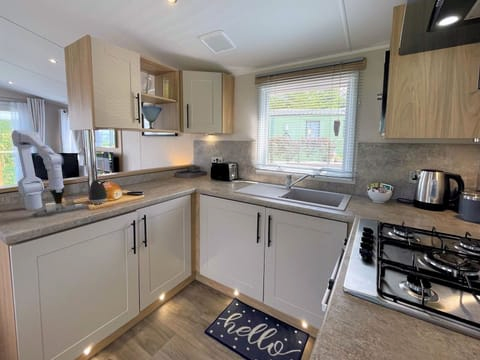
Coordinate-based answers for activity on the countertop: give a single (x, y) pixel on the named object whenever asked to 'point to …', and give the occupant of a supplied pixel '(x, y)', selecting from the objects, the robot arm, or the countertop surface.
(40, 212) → the grey recessed block
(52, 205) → the plug
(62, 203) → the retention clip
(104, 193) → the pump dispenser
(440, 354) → the countertop surface
